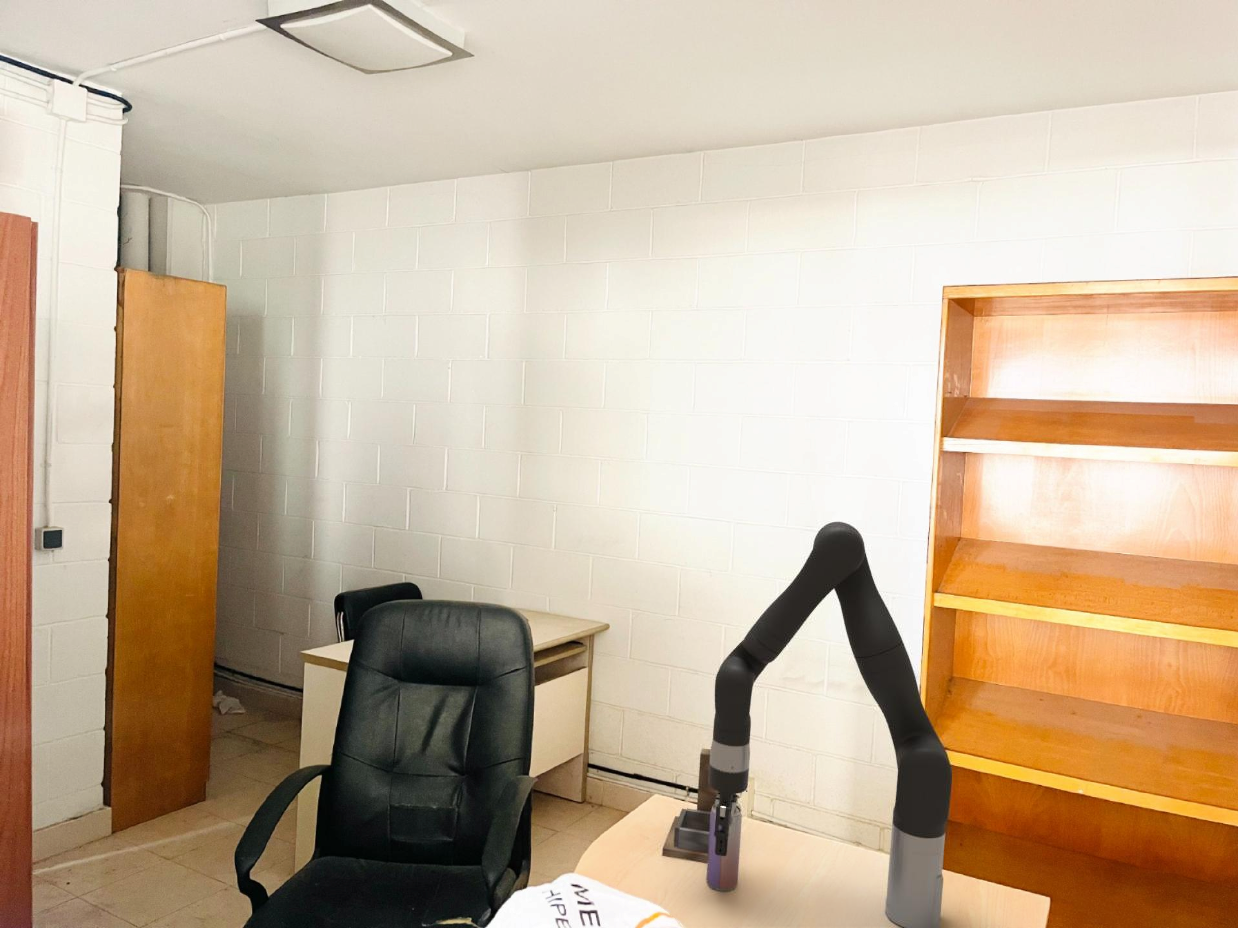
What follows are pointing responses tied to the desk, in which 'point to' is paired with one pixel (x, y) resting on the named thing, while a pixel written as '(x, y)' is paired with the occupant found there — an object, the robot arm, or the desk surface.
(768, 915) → the desk surface
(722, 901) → the desk surface
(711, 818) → the beverage can
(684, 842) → the post holder
